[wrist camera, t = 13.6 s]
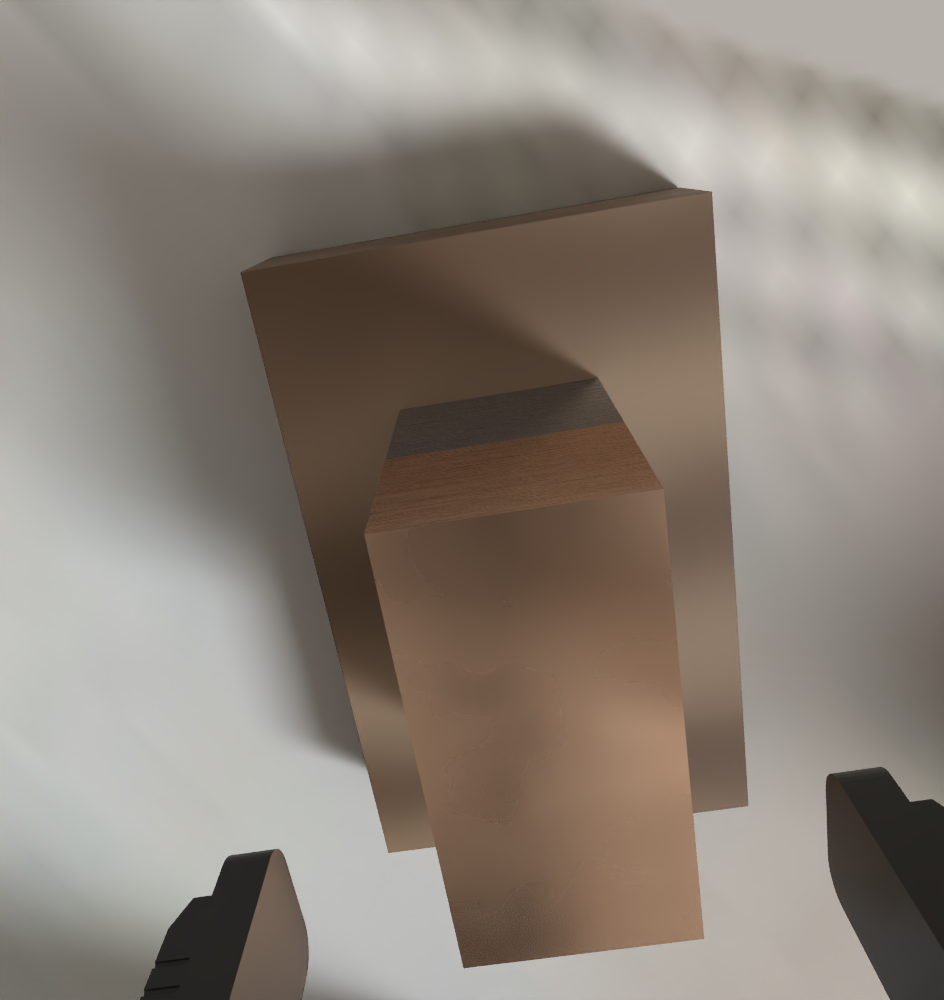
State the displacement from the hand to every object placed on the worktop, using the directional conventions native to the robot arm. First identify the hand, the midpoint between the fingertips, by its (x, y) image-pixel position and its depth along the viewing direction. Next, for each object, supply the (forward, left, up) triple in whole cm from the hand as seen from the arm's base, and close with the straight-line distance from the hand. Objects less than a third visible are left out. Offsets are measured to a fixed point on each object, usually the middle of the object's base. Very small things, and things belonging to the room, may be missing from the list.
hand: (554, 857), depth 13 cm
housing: (0, 0, -9) cm, 9 cm away
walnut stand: (0, 0, -12) cm, 12 cm away
